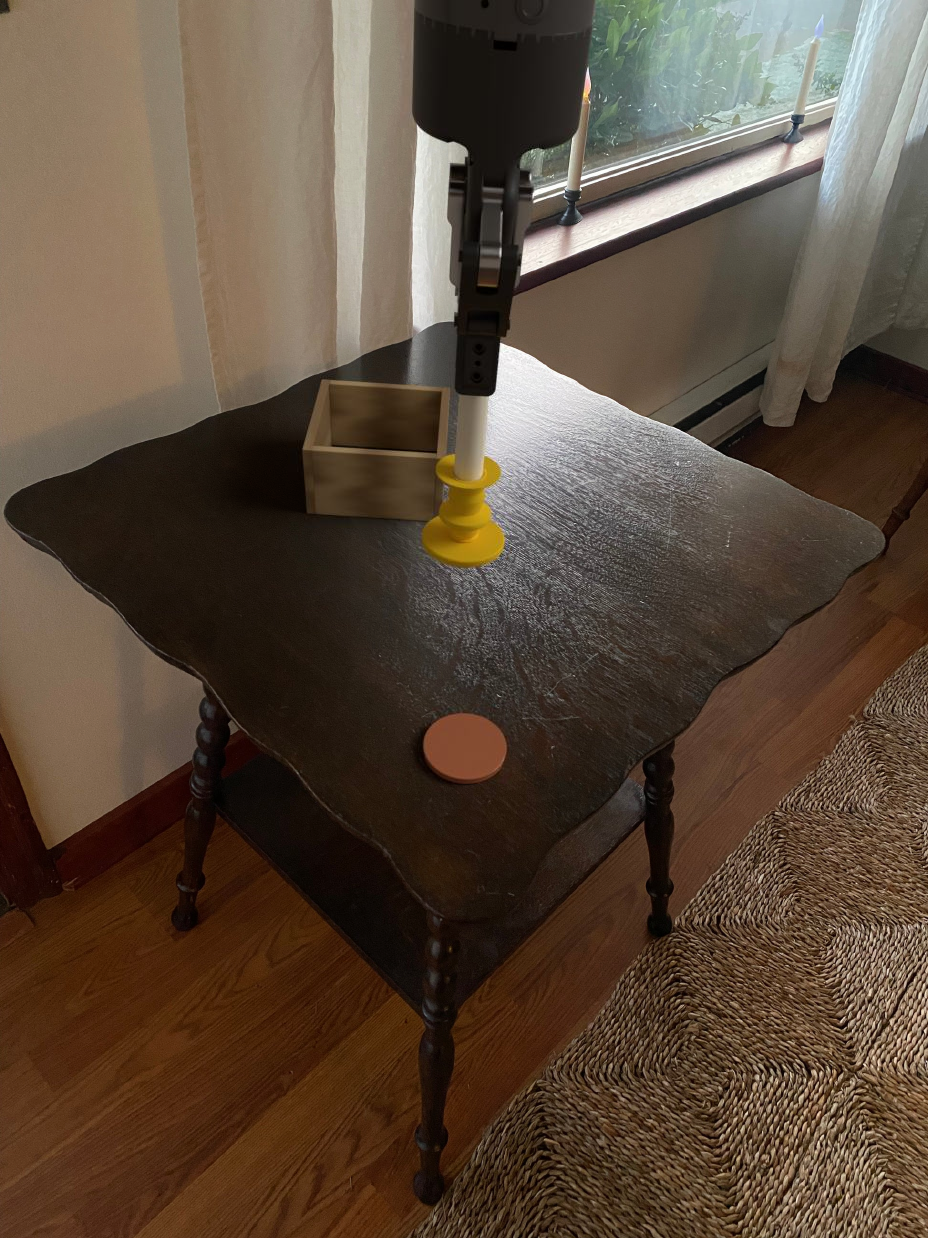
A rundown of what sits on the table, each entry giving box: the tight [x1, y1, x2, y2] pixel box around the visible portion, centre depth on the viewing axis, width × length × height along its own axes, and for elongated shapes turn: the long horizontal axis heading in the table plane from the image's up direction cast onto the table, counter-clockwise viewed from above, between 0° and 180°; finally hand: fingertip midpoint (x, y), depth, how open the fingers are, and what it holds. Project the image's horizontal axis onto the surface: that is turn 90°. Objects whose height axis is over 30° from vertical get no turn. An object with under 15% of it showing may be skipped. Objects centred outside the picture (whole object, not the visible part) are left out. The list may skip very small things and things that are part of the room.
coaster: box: [422, 712, 508, 785], centre depth 64 cm, size 6×6×1 cm
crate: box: [301, 379, 451, 522], centre depth 86 cm, size 13×13×7 cm
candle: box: [421, 394, 506, 569], centre depth 51 cm, size 5×5×16 cm
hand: (474, 381), depth 49 cm, fingers closed on candle
